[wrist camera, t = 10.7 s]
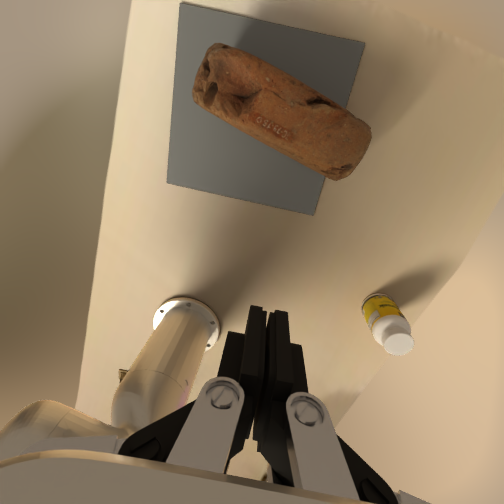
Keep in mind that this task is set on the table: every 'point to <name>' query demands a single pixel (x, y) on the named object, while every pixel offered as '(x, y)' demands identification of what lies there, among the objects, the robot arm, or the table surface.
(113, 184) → the table surface
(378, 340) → the supplement bottle
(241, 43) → the mat
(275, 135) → the block
